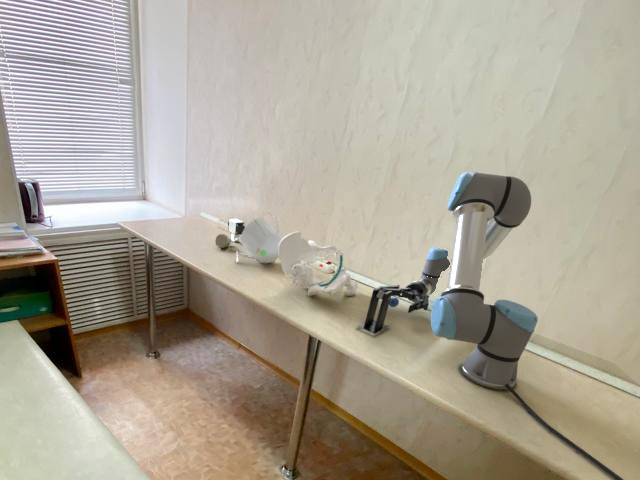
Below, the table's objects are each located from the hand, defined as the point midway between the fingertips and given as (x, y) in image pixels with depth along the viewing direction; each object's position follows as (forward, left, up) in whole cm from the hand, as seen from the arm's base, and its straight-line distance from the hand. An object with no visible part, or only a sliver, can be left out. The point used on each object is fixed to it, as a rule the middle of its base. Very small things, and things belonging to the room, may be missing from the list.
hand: (392, 302), depth 152 cm
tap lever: (-5, +3, +1) cm, 6 cm away
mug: (+66, +77, -8) cm, 102 cm away
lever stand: (-9, +6, -7) cm, 13 cm away
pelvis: (+21, +28, -8) cm, 36 cm away
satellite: (+51, +55, -8) cm, 76 cm away
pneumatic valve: (+79, +73, -8) cm, 108 cm away
